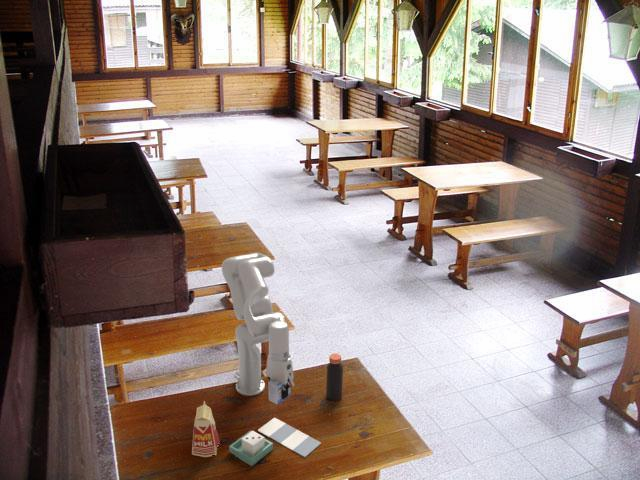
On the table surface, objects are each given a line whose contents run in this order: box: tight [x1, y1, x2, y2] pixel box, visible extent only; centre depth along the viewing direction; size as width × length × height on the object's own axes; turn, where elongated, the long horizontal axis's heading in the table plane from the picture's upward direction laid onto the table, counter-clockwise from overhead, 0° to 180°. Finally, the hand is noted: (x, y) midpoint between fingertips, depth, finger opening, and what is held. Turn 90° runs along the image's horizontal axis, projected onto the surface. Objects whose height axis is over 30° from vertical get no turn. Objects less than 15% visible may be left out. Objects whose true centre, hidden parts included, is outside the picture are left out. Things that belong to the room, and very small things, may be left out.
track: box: [257, 417, 322, 458], centre depth 249 cm, size 24×10×1 cm, turn 52°
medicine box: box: [267, 379, 291, 405], centre depth 243 cm, size 8×4×9 cm, turn 141°
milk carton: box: [191, 400, 221, 458], centre depth 238 cm, size 9×9×20 cm
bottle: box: [325, 353, 344, 402], centre depth 270 cm, size 7×7×20 cm
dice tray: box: [228, 430, 274, 467], centre depth 241 cm, size 12×12×3 cm
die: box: [242, 430, 266, 457], centre depth 240 cm, size 6×6×6 cm
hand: (279, 394), depth 244 cm, fingers closed on medicine box, 4 cm apart
